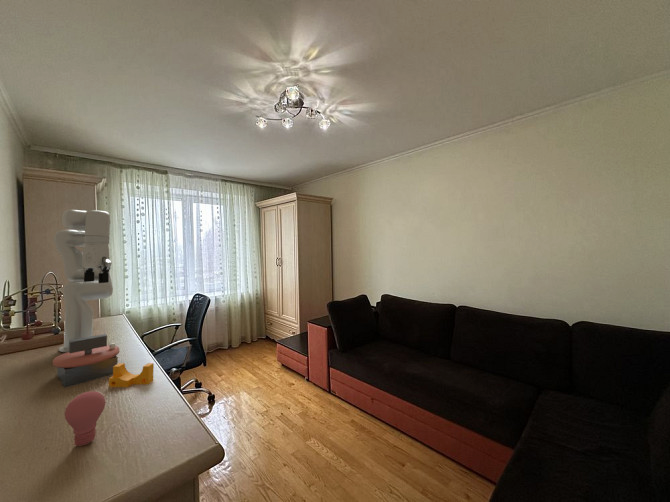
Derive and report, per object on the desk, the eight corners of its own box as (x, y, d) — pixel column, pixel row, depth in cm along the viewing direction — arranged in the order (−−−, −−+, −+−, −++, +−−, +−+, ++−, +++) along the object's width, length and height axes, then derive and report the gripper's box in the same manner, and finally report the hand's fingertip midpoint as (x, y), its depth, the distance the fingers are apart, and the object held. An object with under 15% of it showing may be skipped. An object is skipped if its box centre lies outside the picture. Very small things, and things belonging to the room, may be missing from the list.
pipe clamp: (108, 387, 88) (109, 368, 88) (118, 381, 93) (119, 363, 93) (144, 387, 89) (145, 368, 89) (153, 381, 93) (153, 363, 93)
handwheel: (54, 372, 85) (55, 350, 85) (50, 357, 96) (51, 338, 96) (124, 356, 98) (125, 337, 98) (113, 345, 110) (114, 328, 110)
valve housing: (57, 375, 96) (57, 359, 96) (106, 363, 107) (106, 348, 107) (64, 387, 87) (65, 370, 87) (117, 372, 99) (117, 357, 99)
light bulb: (82, 433, 66) (83, 386, 66) (111, 432, 67) (113, 385, 67) (54, 454, 59) (55, 402, 59) (88, 453, 60) (89, 401, 60)
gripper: (73, 240, 107) (72, 281, 107) (99, 240, 101) (97, 284, 100) (95, 241, 114) (94, 280, 114) (120, 241, 108) (119, 282, 107)
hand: (96, 282), depth 107 cm, fingers open, 9 cm apart
